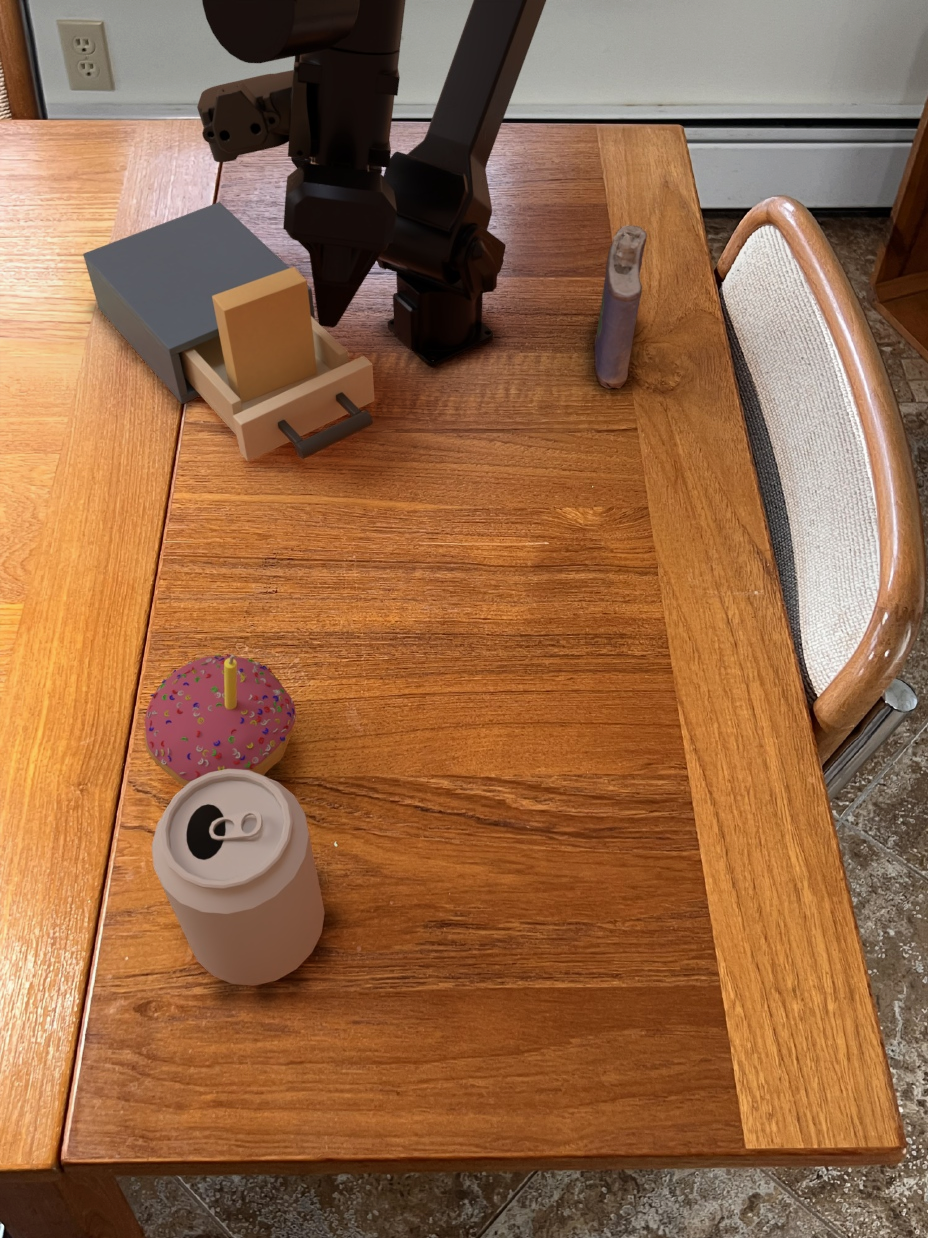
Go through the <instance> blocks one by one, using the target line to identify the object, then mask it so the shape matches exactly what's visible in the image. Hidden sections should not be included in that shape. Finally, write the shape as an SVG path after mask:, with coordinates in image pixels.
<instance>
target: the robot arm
mask: <svg viewBox="0 0 928 1238" xmlns="http://www.w3.org/2000/svg"><path fill="white" fill-rule="evenodd" d="M201 2H202V4H201V5H202V7H203V12H204V15H205V20H206V21H207V24H208V26H209V28H210V30H211V32H212V34H213V35H214V37H215V38H216V40H217V41H218V44H220V46H222V48H223V49H224V50H225V51H227V53H228V54H230V56H233V58H236V59H237V60H239V61H241V62H243V63H247V64H263V63H269V62H274V61H279V60H282V59H287V58H288V59H289V58H292V57H294V62H293V69H292V70H286V71H281V72H276V73H267V74H261V75H257V76H253V77H248V78H244V79H239V80H236V81H231V82H226V83H222V84H218V85H213V86H211V87H208V88H206V89H205V90H203V91H202V92H201V94H200V96H199V100H198V103H197V106H196V108H197V112H198V115H199V118H200V120H201V124H202V127H203V129H202V139H203V140H204V141H205V142H206V143H208V145H209V149H210V153H211V155H212V158H213V161H215V163H227V162H232V161H236V160H237V158H238V157H239V156H243V155H247V154H251V153H257V152H260V151H264V150H269V149H272V148H277V147H281V146H283V145H285V144H287V143H288V148H287V157H289V158H290V160H291V162H292V163H293V165H294V166H295V167H296V169H295V170H293V171H292V172H291V173H289V175H288V176H287V177H286V184H285V185H286V186H285V196H284V197H285V198H284V213H283V228H282V229H283V230H284V231H285V232H286V234H287V235H288V236H289V238H290V239H292V240H293V241H296V242H298V243H299V244H300V245H301V246H302V247H303V248H304V249H305V250H306V252H307V253H308V254H309V260H310V268H311V277H312V282H313V283H312V284H313V293H314V298H315V300H314V301H315V307H316V308H315V309H316V314H317V316H316V317H317V322H318V323H319V325H320V326H322V327H323V328H324V327H325V328H326V327H327V328H336V327H337V326H338V324H339V323H340V321H341V319H342V318H343V316H344V314H345V313H346V312H347V309H348V308H349V306H350V305H351V303H352V301H353V299H354V298H355V296H356V295H357V293H358V291H359V289H360V287H361V286H362V285H363V283H364V281H365V280H366V278H367V276H368V275H369V273H370V272H371V270H372V269H373V267H374V266H375V264H376V263H377V265H378V267H379V268H380V269H382V270H389V271H391V272H393V273H396V274H395V275H396V277H395V278H396V292H394V293H393V295H392V310H393V312H392V313H393V317H392V318H391V319H389V320H388V321H387V329H388V330H389V332H391V334H393V335H394V337H395V338H397V339H398V341H400V343H402V344H403V345H404V346H405V347H406V348H407V349H408V350H410V351H411V352H412V353H414V354H415V356H417V357H418V358H419V359H420V360H421V361H422V362H423V363H425V364H426V365H427V366H428V367H430V368H436V367H438V366H441V365H443V364H444V363H446V362H448V361H451V360H452V359H455V358H456V357H459V356H461V355H463V354H466V353H468V352H470V351H472V350H474V349H476V348H478V347H480V346H482V345H484V344H485V343H489V342H490V341H492V340H493V339H494V335H495V333H494V331H493V329H491V328H490V327H489V326H488V325H487V324H485V323H484V322H483V304H484V302H483V300H484V294H486V293H491V292H494V291H495V290H496V288H497V287H498V275H499V274H500V273H501V271H502V267H503V265H504V263H505V262H504V261H505V260H504V257H505V253H506V243H505V242H503V241H502V240H500V239H499V238H498V237H497V236H495V235H494V234H493V233H491V232H490V231H489V230H488V228H489V225H490V222H491V219H492V215H493V207H492V206H493V205H492V201H491V200H492V199H491V193H490V189H489V183H488V177H487V170H486V169H487V165H488V162H489V159H490V157H491V154H492V151H493V148H494V146H495V143H496V140H497V137H498V135H499V132H500V129H501V127H502V124H503V121H504V118H505V115H506V112H507V109H508V107H509V104H510V102H511V99H512V96H513V93H514V90H515V88H516V86H517V82H518V79H519V77H520V75H521V72H522V68H523V66H524V63H525V61H526V58H527V55H528V52H529V50H530V46H531V44H532V41H533V38H534V35H535V33H536V30H537V28H538V26H539V25H538V24H539V21H540V19H541V16H542V13H543V12H544V8H545V6H546V2H547V0H473V1H472V4H471V5H470V6H471V7H470V9H469V12H468V15H467V18H466V20H465V24H464V26H463V29H462V32H461V34H460V38H459V41H458V43H457V46H456V49H455V52H454V55H453V58H452V59H451V60H452V61H451V62H450V63H451V64H450V66H449V69H448V72H447V75H446V77H445V81H444V84H443V86H442V89H441V91H440V95H439V98H438V100H437V103H436V106H435V108H434V111H433V115H432V118H431V119H430V123H429V125H428V128H427V131H426V134H425V136H424V138H423V140H422V141H421V142H419V143H418V144H417V145H416V146H415V147H414V148H412V149H411V150H410V151H409V152H408V153H404V152H401V151H398V150H397V151H395V152H394V153H393V154H392V155H391V153H392V149H391V141H390V139H391V128H392V122H393V121H392V119H393V113H394V105H395V104H394V103H395V97H398V95H399V88H400V87H399V86H400V71H399V61H400V60H399V59H400V52H401V42H402V33H403V25H404V18H405V17H404V16H405V9H406V0H201ZM383 168H385V169H384V174H383Z"/></svg>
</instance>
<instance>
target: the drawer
mask: <svg viewBox="0 0 928 1238" xmlns="http://www.w3.org/2000/svg"><path fill="white" fill-rule="evenodd" d="M311 322H312V331H313V340H314V349H315V358H316V367H317V374H314V375H311V376H309V377H306V378H304V379H301V380H299V381H296V382H294V383H291V384H289V385H286V386H284V387H281V388H279V389H276V390H274V391H271V392H269V393H266V394H263V395H261V396H258V397H256V398H253V399H251V400H248V401H246V402H243V403H241V399H240V398H239V397H238V396H237V395H236V394H235V393H234V392H233V391H232V390H231V389H230V387H229V382H228V377H227V372H226V367H225V361H224V356H223V351H222V346H221V341H220V335H219V336H217V337H214V338H212V339H210V340H207V341H205V342H203V343H200V344H198V345H196V346H193V347H191V348H189V349H186V350H184V351H182V352H179V357H180V362H181V366H182V370H183V375H184V377H185V378H186V379H187V381H188V382H189V383H190V384H191V385H192V386H193V387H194V388H195V390H196V391H197V392H198V393H199V394H200V395H201V396H200V397H201V398H202V399H203V400H204V401H205V402H206V403H207V404H208V406H209V407H210V408H211V409H212V411H214V412H215V413H216V415H217V416H218V417H219V418H220V419H221V420H222V422H224V424H226V426H227V427H228V428H229V429H230V430H231V431H232V432H233V433H234V435H235V436H236V439H237V444H238V449H239V453H240V455H241V456H242V457H243V458H244V459H245V460H246V461H247V462H250V461H253V460H255V459H257V458H259V457H261V456H263V455H265V454H267V453H269V452H271V451H274V450H276V449H278V448H280V447H282V446H283V445H286V444H288V443H290V442H291V443H292V445H293V446H294V450H295V453H296V454H297V456H298V457H299V459H301V460H305V459H306V458H308V457H310V456H312V455H315V454H317V453H319V452H320V451H321V452H322V451H323V450H325V449H327V448H329V447H331V446H333V445H335V444H337V443H339V442H341V441H343V440H345V439H347V438H349V437H351V436H353V435H355V434H357V433H360V432H362V431H364V430H365V429H367V428H370V427H372V426H373V425H374V420H373V417H372V415H371V414H370V412H369V411H368V410H367V409H365V410H362V409H361V408H362V407H365V406H367V405H369V404H371V403H373V402H375V386H374V385H375V384H374V371H373V370H374V367H373V363H372V362H371V361H370V360H369V358H367V357H366V356H365V355H362V356H359V357H357V358H355V359H353V360H350V361H349V351H348V350H347V349H346V348H345V347H344V346H343V344H341V343H340V342H339V341H338V340H337V339H336V338H335V337H334V336H333V335H332V334H331V333H329V331H328V330H326V328H324V326H320V325H319V323H318V320H316V318H315V319H314V318H313V317H312V316H311ZM348 414H349V415H350V417H348V418H346V419H344V420H342V421H339V422H338V423H337V422H336V423H335V424H333V425H331V426H329V427H327V428H325V429H323V430H321V431H318V432H317V433H315V434H313V435H310V436H309V437H306V438H305V439H303V438H302V437H303V436H304V435H307V434H309V433H311V432H313V431H315V430H317V429H319V428H322V427H323V426H326V425H327V424H330V423H332V422H334V421H336V420H338V419H340V418H342V417H345V416H346V415H348Z"/></svg>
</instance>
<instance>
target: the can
mask: <svg viewBox="0 0 928 1238" xmlns="http://www.w3.org/2000/svg"><path fill="white" fill-rule="evenodd" d="M151 855H152V864H153V865H152V866H153V869H154V872H155V873H156V876H157V879H158V880H159V882H160V885H161V886H162V887H161V888H162V889H163V891H164V893H165V895H166V897H167V900H168V902H169V904H170V906H171V908H172V910H173V913H174V915H175V918H176V920H177V922H178V924H179V926H180V928H181V930H182V932H183V934H184V937H185V939H186V941H187V943H188V945H189V947H190V949H191V951H192V953H193V955H194V957H195V960H196V962H197V963H198V964H199V965H201V966H202V967H203V968H204V969H205V970H206V971H207V972H208V973H209V974H211V976H212V977H215V978H217V979H219V980H222V981H224V982H227V983H229V984H231V985H241V986H253V987H254V986H260V985H263V984H266V983H272V982H275V981H276V982H277V981H278V980H279V979H281V978H283V977H285V976H287V975H288V974H290V973H292V972H294V971H295V970H297V969H298V968H299V967H300V966H301V965H302V964H303V963H304V961H306V960H307V958H308V957H309V956H310V955H311V954H312V953H313V952H314V949H315V947H316V946H317V944H318V941H319V940H320V937H321V936H322V932H323V926H324V920H325V906H324V902H323V896H322V890H321V886H320V881H319V876H318V871H317V867H316V866H317V865H316V861H315V857H314V851H313V847H312V841H311V836H310V831H309V826H308V821H307V816H306V813H305V811H304V809H303V808H302V806H301V804H300V803H299V801H298V799H297V798H296V796H295V794H293V793H292V792H291V791H289V789H287V788H286V787H284V785H282V784H281V783H280V782H279V781H277V780H274V779H272V778H269V777H267V776H265V775H264V776H263V775H260V774H258V773H255V772H252V771H250V770H241V769H224V770H219V771H214V772H209V773H207V774H205V775H203V776H201V777H199V778H197V779H195V780H193V781H191V782H189V783H188V784H187V785H186V786H184V787H182V788H181V789H180V790H179V791H178V792H177V793H175V795H174V796H173V797H172V798H171V800H170V802H169V803H168V805H167V807H166V808H165V810H164V812H163V813H162V815H161V817H160V819H159V820H158V821H157V823H156V827H155V831H154V835H153V840H152V843H151Z"/></svg>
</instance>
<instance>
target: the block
mask: <svg viewBox="0 0 928 1238" xmlns="http://www.w3.org/2000/svg"><path fill="white" fill-rule="evenodd" d="M307 285H308V280H307V279H306V278H305V277H304V276H303V274H302V273H301V272H300V271H299V270H298V269H297V268H296V267H295V266H291V267H289V269H286V270H283V271H280V272H278V273H275V274H272V275H269V276H266V277H264V278H261V279H258V280H255V281H252V282H250V283H247V284H244V285H241V286H238V287H236V288H233V289H230V290H227V291H224V292H222V293H219V294H216V295H213V296H212V299H213V304H214V309H215V315H216V320H217V325H218V330H219V335H220V341H221V346H222V351H223V356H224V361H225V367H226V372H227V377H228V382H229V387H230V389H231V390H232V391H233V392H234V393H235V394H236V395H237V396H238V397H239V398H240V399H241V403H243V402H246V401H248V400H251V399H253V398H256V397H258V396H261V395H263V394H266V393H269V392H271V391H274V390H276V389H279V388H281V387H284V386H286V385H289V384H291V383H294V382H296V381H299V380H301V379H304V378H306V377H309V376H311V375H314V374H317V367H316V358H315V349H314V340H313V331H312V322H311V313H310V304H309V295H308V286H309V285H308V286H307Z"/></svg>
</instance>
